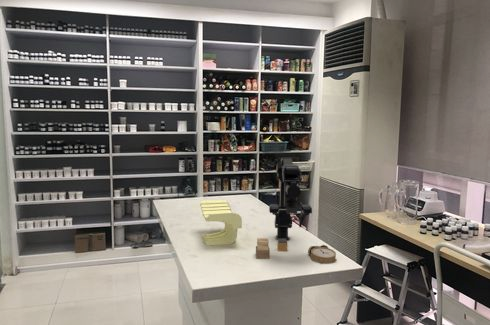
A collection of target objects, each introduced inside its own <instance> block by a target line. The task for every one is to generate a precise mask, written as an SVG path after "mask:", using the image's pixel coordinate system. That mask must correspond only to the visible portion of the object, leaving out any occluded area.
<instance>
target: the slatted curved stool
mask: <svg viewBox="0 0 490 325" xmlns="http://www.w3.org/2000/svg"><path fill="white" fill-rule="evenodd" d="M199 204H200V208H201V213H202V217H203V218H204V220H205V222H219V223H224V228H223V229H222V230H220V231H218V232H213V233H203V234H202V239H203V241H204V244H205V245H206V246H213V245H217V246H218V245H227V244H228V245H230V244H233V243H235V241H236V240H237V238H238V229H242V228H243V226H242V224H243V220H242V216H241V215H240V214H239V213H235V212H232V209H231V206H230V204H229V202H228V201H227V200H225V199H215V200H214V199H211V200H209V199H208V200H200V201H199Z"/></svg>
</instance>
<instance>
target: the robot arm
mask: <svg viewBox="0 0 490 325" xmlns="http://www.w3.org/2000/svg"><path fill="white" fill-rule="evenodd" d="M275 169H276V171H275V172H276V174H277V177H278V179H279V181H280V182H279V184H280V185H279V204H278V203H270V204H269V206H268V208H269V209H268V211H269V214H272V215H274V216H275V217H274V229H277V231H276V235H275V239H276V240H278V238H281V239H287V241H290V237H289V229H292V228H293V218H292V216H291V214H294V215H296V214H298V212H300V216H299V224H298V225H299V228H301V227H302V225H303V222H304V220H305V218H306V217H307V216H309V215H310V214H312V213H313V208H312V206H311V205H310V204H303V201H298V197H300V196H301V192H302V191H301V188H300V187H299V185H298V183H301V182H302V179H303V176H302V175H303V174H302V170H301V168H300V166H299V165H297V164H294V163H293V159H292V157H282V158H281V159H280V160H279V161H278V162H277V163H276V168H275Z"/></svg>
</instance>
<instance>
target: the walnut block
mask: <svg viewBox="0 0 490 325" xmlns="http://www.w3.org/2000/svg"><path fill="white" fill-rule="evenodd" d="M270 255H271V252H270V249H269V250H257V245H256V246H255V258H256V259H257V260H269V259H270V258H271V256H270Z"/></svg>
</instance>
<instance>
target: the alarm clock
mask: <svg viewBox="0 0 490 325" xmlns="http://www.w3.org/2000/svg"><path fill="white" fill-rule="evenodd" d="M307 249H308V250H307V253H308V255H309V256H310V260H312V261H313V262H315V263H318V264H333V263H335V262H336V261H337V258H336V256H337V252H336V251H335V250H334V249H333V248H329V247H328V246H327V245H325V244H322V245H320V246H319V245H311V246H309V247H308V248H307ZM334 261H335V262H334Z"/></svg>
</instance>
